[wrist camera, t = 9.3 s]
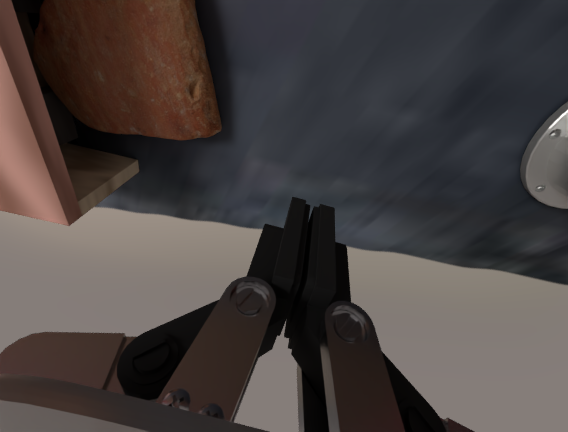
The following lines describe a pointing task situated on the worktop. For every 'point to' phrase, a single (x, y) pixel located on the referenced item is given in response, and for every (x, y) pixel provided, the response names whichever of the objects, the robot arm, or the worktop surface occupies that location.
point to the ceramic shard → (129, 66)
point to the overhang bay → (44, 136)
